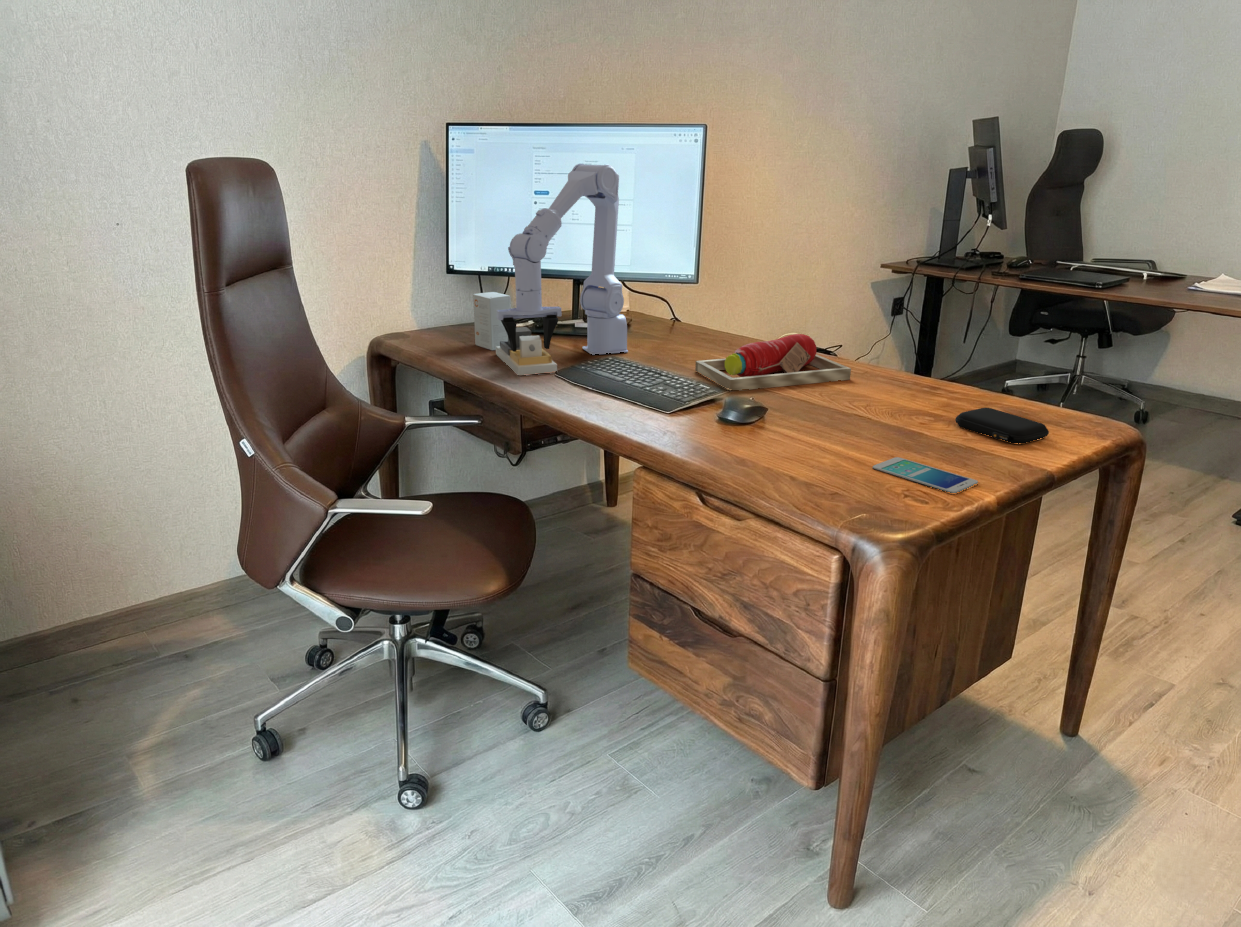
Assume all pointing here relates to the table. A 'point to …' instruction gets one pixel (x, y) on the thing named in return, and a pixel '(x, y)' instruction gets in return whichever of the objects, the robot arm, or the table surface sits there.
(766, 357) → the water bottle
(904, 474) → the smartphone
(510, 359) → the white base platform
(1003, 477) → the table surface
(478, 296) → the small box
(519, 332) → the twin plug
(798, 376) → the desk tray
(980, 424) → the carrying case or bag
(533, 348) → the plug
